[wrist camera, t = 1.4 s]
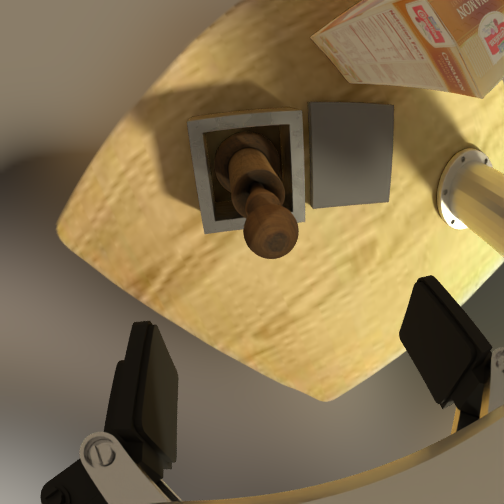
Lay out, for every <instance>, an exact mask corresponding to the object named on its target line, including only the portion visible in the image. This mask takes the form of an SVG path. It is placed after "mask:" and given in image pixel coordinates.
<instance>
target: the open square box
mask: <svg viewBox="0 0 504 504" xmlns="http://www.w3.org/2000/svg"><path fill="white" fill-rule="evenodd" d="M267 125H279V130H280V146H281V163H282V182H283V186H284V190H285V199H284V203H283V205H282V206H283V207H285V208H286V209H288V210H289V211H290V212H291V213H292V214H293V215H294V217H295V219H296V221H297V223H299V222H305V174H304V143H303V121H302V110H299V109H295V108H291V107H281V108H265V109H252V110H241V111H232V112H223V113H215V114H208V115H201V116H194V117H191V118H190V119H189V120H188V121H187V127H188V134H189V141H190V148H191V154H192V161H193V168H194V174H195V180H196V187H197V193H198V199H199V205H200V211H201V216H202V222H203V228H204V233H205V234H209V233H217V232H224V231H232V230H240V229H244V224H245V221H246V218H244V217H243V216H241V215H240V214H239V213H238V212H237V211H236V209H235V208H234V205H233V203H232V200H230V201H223V202H215V197H214V190H213V183H212V175H211V168H210V161H209V153H208V146H207V138H206V132H211V131H218V130H226V129H235V128H245V127H255V126H267Z"/></svg>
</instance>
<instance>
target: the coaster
mask: <svg viewBox="0 0 504 504" xmlns="http://www.w3.org/2000/svg"><path fill="white" fill-rule="evenodd" d="M308 119H309V144H310V190H311V207H312V208H313V209H316V208H327V207H337V206H348V205H359V204H371V203H383V202H389V194H390V183H391V170H392V154H393V129H394V105H389V104H376V103H358V102H308Z"/></svg>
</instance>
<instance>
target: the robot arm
mask: <svg viewBox="0 0 504 504" xmlns="http://www.w3.org/2000/svg"><path fill="white" fill-rule="evenodd" d="M437 204H438V210H439V213H440V215H441V217H442V219H443V220H444V222H445V223H446V224H448V225H449V226H450V227H452V228H454V229H465V228H469V229H471V230H472V231H473V232H474V233H476V234H477V235H478V236H479V237H481V238H482V239H483V240H484V241H485V242H487V243H488V244H489V245H490V246H491V247H492V248H494V249H495V250H496V251H497V252H498V253H499V254H501V255H502V256H503V257H504V174H503V173H501V172H499V171H498V170H496V169H494V168H493V167H492V164H491V161H490V160H489V158H488V157H487V156H486V155H485V154H484V153H483V152H481V151H479V150H477V149H472V148H468V149H464V150H462V151H460V152H458V153H457V154H456V155H454V156H453V157H452V159H451V160H450V161H449V162H448V164H447V165H446V167H445V169H444V171H443V173H442V175H441V178H440V182H439V186H438V191H437ZM399 337H400V340H401V342H402V343H403V345H404V347H405V348H406V350H407V352H408V353H409V355H410V357H411V359H412V360H413V362H414V364H415V365H416V367H417V369H418V371H419V372H420V374H421V376H422V378H423V380H424V381H425V383H426V385H427V387H428V389H429V390H430V392H431V394H432V396H433V398H434V400H435V401H436V403H438V404H440V405H441V407H442V409H444V408H446V407H448V406H450V405H452V404H453V403H455V405H456V412H455V417H454V421H453V426H452V431H451V435H450V436H448V437H446V438H444V439H442V440H441V441H438V442H436V443H434V444H432V445H430V446H428V447H426V448H424V449H421V450H419V451H417V452H415V453H412V454H410V455H408V456H405V457H403V458H401V459H398V460H396V461H393V462H390V463H388V464H385V465H382V466H380V467H377V468H374V469H371V470H368V471H365V472H362V473H360V474H356V475H353V476H349V477H346V478H343V479H340V480H336V481H332V482H328V483H324V484H320V485H316V486H311V487H307V488H302V489H297V490H292V491H287V492H281V493H274V494H268V495H260V496H253V497H243V498H234V499H222V500H206V501H205V500H203V501H182V500H181V499H180V498H179V497H178V496H177V495H176V494H175V493H174V492H173V491H172V490H171V489H170V488H169V486H168V485H167V484H166V483H164V481H163V480H162V478H163V469H172V462H176V457H177V456H176V454H177V452H176V451H177V450H176V449H177V444H176V443H177V401H178V374H177V370H176V368H175V366H174V364H173V362H172V359H171V357H170V355H169V352H168V350H167V348H166V345H165V343H164V341H163V338H162V336H161V334H160V331H159V329H158V326H157V325H152V323H151V322H150V321H143V322H134V323H133V325H132V330H131V333H130V337H129V342H128V346H127V351H126V355H125V360H121V361H119V362H118V364H117V367H116V371H115V375H114V380H113V384H112V389H111V394H110V399H109V404H108V410H107V415H106V421H105V427H104V432H95V433H93V434H91V435H89V436H88V437H86V438H85V439H84V441H83V442H82V444H81V447H80V451H79V452H80V459H79V460H77V461H76V462H75V463H73V464H72V465H70V467H68V468H66V469H65V470H64V471H62V472H61V473H60V474H58V475H57V476H55V477H54V478H53V479H51V480H50V481H48V482H47V483H46V484H45V485H44V486H43V489H42V490H41V503H42V504H504V347H501V348H497V349H496V350H494V352H493V353H491V351H490V350H491V349H492V346H491V345H490V344H489V342H488V341H487V339H486V338H485V337H484V335H483V334H482V333H481V332H480V330H479V329H478V328H477V326H476V325H475V324H474V323H473V321H472V320H471V319H470V318H469V316H468V315H467V314H466V313H465V311H464V310H463V309H462V308H461V307H460V305H459V304H458V303H457V302H456V301H455V300H454V298H453V297H452V296H451V295H450V294H449V293H448V291H447V290H446V289H445V288H444V287H443V286H442V285H441V284H440V282H439V281H438V280H437V279H436V278H435V277H434V276H432V275H430V276H426V277H421V278H419V279H418V280H417V282H416V283H415V284H414V287H413V290H412V294H411V297H410V301H409V304H408V307H407V310H406V313H405V317H404V320H403V323H402V326H401V329H400V332H399Z"/></svg>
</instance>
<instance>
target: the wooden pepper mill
mask: <svg viewBox="0 0 504 504" xmlns="http://www.w3.org/2000/svg"><path fill="white" fill-rule="evenodd" d="M279 168H280V159H279V155H278V152H277V150H276V148H275V147H274V145H273V144H272V143H271V142H270V141H269V140H268V139H267V138H266V137H265V136H263V135H261V134H259V133H256V132H240V133H236V134H234V135H231V136H230V137H228V138H227V139H225V140H224V141H223V142H222V143H221V145H220V146H219V148H218V150H217V152H216V155H215V174H216V177H217V179H218V181H219V183H220V184H221V185H222V186H223V187H224V188H225V189H226V190H228V191H229V192H231V198H232V203H233V205H234V208H235V209H236V211H237V212H238V213H239V214H240V215H241V216H243V217H244V218H246V221H245V224H244V230H243V232H244V238H245V241H246V243H247V245H248V247H249V248H250V249H251V250H252V251H253V252H254V253H255V254H257V255H258V256H260V257H263V258H267V259H276V258H280V257H282V256H284V255H286V254H288V253H289V252H290V251H291V250H292V249H293V247H294V246H295V244H296V242H297V239H298V232H299V231H298V224H297V221H296V219H295V217H294V215H293V214H292V213H291V212H290V211H289V210H288V209H286V208H285V207H283V206H282V205H283V203H284V199H285V190H284V186H283V184H282V182H281V180H280V179H279V177H278V176H277V175H278V173H279Z"/></svg>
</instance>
